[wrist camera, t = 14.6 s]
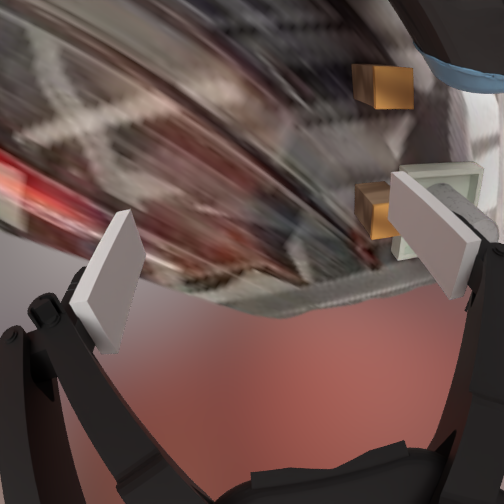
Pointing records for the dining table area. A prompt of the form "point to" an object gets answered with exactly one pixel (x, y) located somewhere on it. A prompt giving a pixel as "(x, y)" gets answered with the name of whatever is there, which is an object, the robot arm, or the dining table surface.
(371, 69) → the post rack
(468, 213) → the grey cylinder
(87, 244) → the dining table surface
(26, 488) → the robot arm
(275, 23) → the dining table surface
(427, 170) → the tray
